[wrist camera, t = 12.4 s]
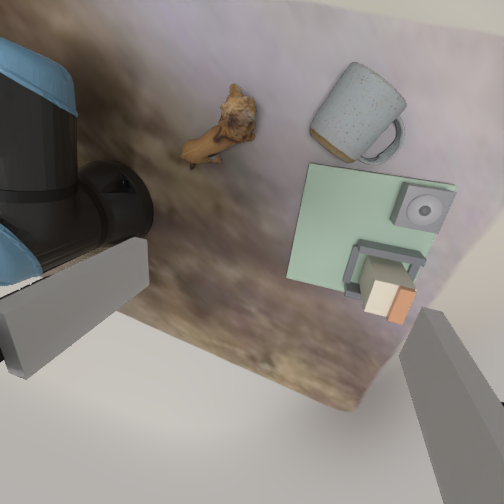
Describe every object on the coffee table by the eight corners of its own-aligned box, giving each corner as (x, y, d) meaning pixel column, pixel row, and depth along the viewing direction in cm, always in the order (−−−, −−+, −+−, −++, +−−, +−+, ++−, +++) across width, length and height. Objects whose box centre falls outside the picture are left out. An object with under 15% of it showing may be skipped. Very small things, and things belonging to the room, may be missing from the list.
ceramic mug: (307, 132, 35) (301, 130, 28) (349, 69, 32) (355, 50, 25) (369, 179, 35) (379, 188, 29) (419, 122, 32) (444, 117, 25)
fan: (389, 219, 35) (395, 226, 32) (403, 181, 33) (410, 186, 30) (430, 226, 34) (439, 235, 31) (446, 188, 32) (458, 193, 29)
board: (287, 274, 44) (286, 277, 43) (310, 162, 37) (309, 163, 36) (402, 302, 40) (403, 306, 39) (453, 184, 33) (457, 186, 32)
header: (340, 285, 41) (341, 295, 38) (355, 237, 37) (357, 245, 35) (402, 300, 39) (407, 311, 36) (423, 251, 36) (431, 260, 33)
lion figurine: (254, 87, 35) (231, 71, 27) (277, 122, 36) (260, 116, 28) (182, 156, 41) (147, 159, 34) (203, 184, 42) (172, 194, 34)
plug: (367, 254, 38) (376, 283, 30) (400, 261, 37) (418, 293, 29) (358, 280, 40) (364, 314, 32) (390, 288, 39) (404, 325, 31)
